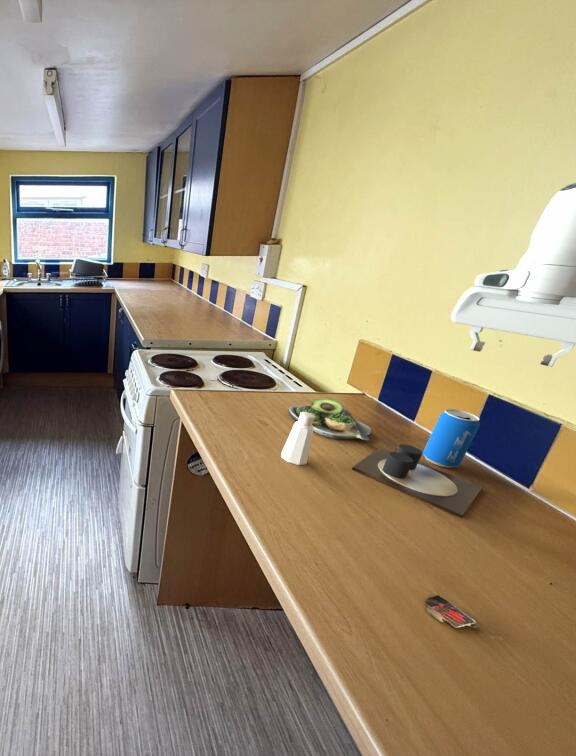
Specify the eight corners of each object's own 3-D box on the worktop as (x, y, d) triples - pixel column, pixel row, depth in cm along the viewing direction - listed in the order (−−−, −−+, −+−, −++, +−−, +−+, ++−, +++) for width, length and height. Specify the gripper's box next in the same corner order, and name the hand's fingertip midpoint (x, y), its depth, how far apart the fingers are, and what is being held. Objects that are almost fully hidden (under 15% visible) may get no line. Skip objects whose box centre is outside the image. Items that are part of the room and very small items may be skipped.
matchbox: (433, 593, 57) (434, 591, 57) (480, 624, 53) (482, 621, 53) (417, 606, 55) (418, 603, 55) (465, 639, 51) (467, 636, 51)
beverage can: (430, 466, 90) (452, 418, 85) (415, 451, 95) (436, 406, 91) (464, 472, 88) (490, 423, 83) (448, 457, 94) (470, 411, 89)
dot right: (408, 475, 84) (416, 458, 83) (402, 481, 82) (409, 464, 80) (386, 465, 87) (393, 449, 86) (379, 471, 85) (386, 455, 83)
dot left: (417, 466, 88) (425, 450, 86) (411, 472, 85) (419, 456, 84) (395, 457, 91) (402, 442, 89) (389, 463, 88) (396, 447, 87)
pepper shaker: (275, 456, 90) (289, 412, 85) (287, 449, 93) (300, 406, 89) (300, 468, 86) (315, 422, 82) (311, 460, 89) (327, 416, 85)
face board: (481, 489, 82) (483, 486, 82) (461, 518, 73) (463, 514, 73) (379, 449, 95) (380, 446, 95) (351, 469, 87) (352, 466, 86)
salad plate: (394, 445, 98) (402, 429, 96) (329, 447, 95) (335, 430, 93) (335, 410, 115) (340, 395, 113) (278, 410, 113) (282, 395, 111)
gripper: (646, 291, 64) (597, 372, 69) (474, 273, 79) (444, 341, 84) (646, 293, 60) (594, 378, 66) (466, 274, 75) (436, 345, 81)
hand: (509, 357), depth 75 cm, fingers open, 8 cm apart
